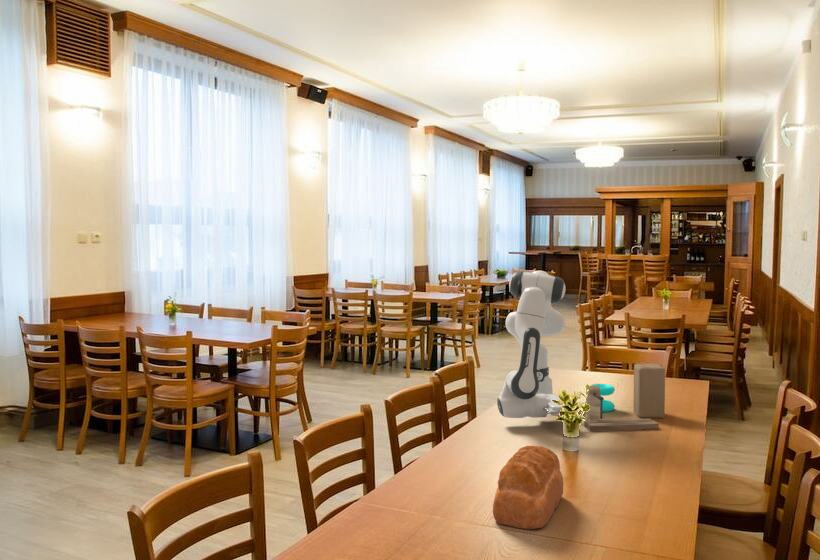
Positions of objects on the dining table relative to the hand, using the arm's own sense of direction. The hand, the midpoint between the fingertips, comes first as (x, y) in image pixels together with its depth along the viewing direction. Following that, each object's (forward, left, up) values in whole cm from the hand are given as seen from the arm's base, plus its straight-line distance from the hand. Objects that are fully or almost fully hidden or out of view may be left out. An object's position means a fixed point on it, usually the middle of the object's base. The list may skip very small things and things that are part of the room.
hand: (575, 404), depth 257 cm
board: (+8, +15, -7) cm, 18 cm away
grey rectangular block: (-8, +33, -8) cm, 35 cm away
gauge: (+4, +7, -7) cm, 11 cm away
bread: (+77, -39, -8) cm, 87 cm away
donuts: (-19, +18, -8) cm, 27 cm away
